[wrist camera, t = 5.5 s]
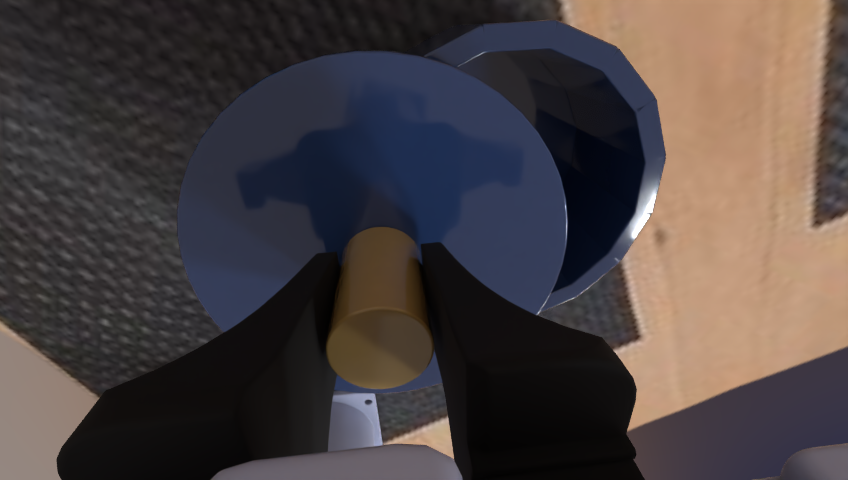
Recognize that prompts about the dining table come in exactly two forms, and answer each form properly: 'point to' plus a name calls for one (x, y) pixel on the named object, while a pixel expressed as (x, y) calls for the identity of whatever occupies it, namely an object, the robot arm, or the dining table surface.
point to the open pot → (573, 129)
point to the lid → (370, 203)
